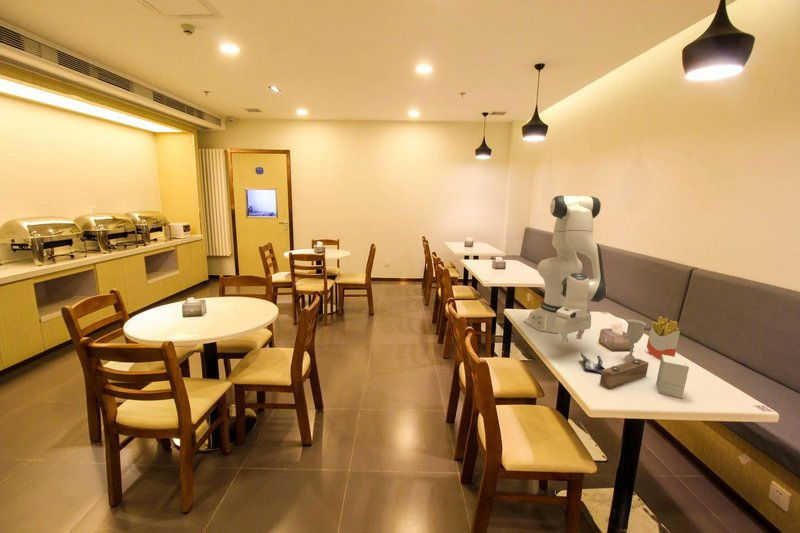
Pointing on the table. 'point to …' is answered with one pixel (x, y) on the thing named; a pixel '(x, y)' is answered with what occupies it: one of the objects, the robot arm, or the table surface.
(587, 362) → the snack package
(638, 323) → the chalice
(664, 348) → the french fries container
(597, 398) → the table surface
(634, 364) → the bar
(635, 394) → the table surface
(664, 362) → the supplement box
